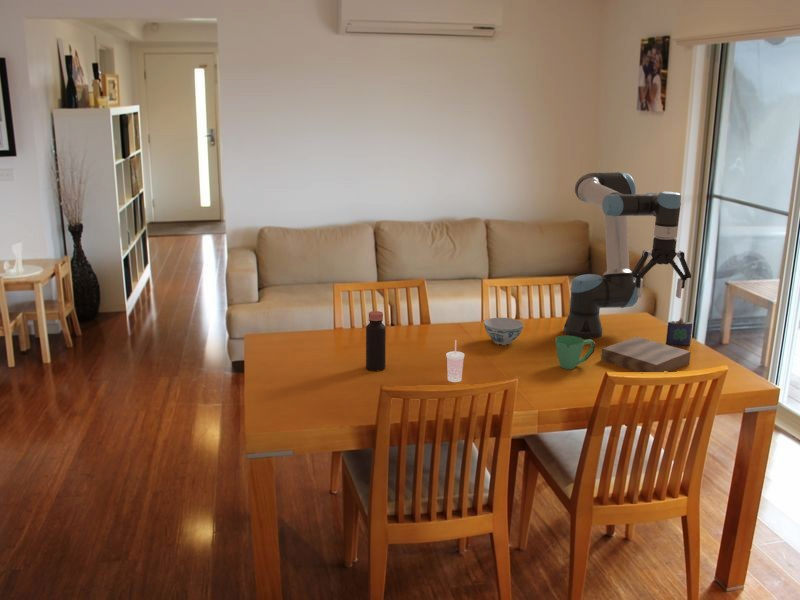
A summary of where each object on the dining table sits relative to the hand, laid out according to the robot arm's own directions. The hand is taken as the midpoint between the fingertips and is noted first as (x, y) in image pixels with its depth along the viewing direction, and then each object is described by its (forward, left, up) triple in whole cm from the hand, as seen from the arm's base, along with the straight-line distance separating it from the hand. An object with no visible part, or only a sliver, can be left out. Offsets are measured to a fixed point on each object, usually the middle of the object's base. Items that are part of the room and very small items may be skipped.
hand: (658, 297), depth 268 cm
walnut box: (-2, -2, -25) cm, 25 cm away
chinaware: (-49, -26, -24) cm, 60 cm away
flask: (-5, +25, -24) cm, 35 cm away
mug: (-15, -26, -24) cm, 39 cm away
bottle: (-57, -82, -24) cm, 103 cm away
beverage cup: (-32, -68, -24) cm, 79 cm away
